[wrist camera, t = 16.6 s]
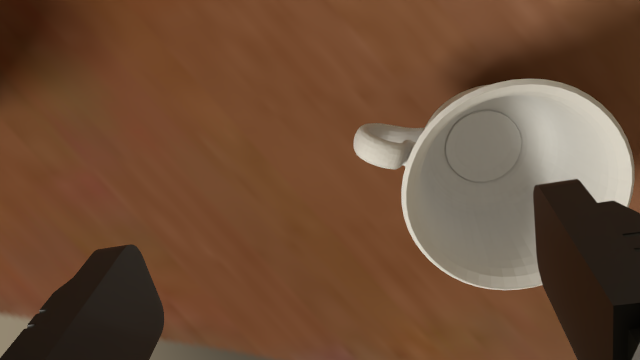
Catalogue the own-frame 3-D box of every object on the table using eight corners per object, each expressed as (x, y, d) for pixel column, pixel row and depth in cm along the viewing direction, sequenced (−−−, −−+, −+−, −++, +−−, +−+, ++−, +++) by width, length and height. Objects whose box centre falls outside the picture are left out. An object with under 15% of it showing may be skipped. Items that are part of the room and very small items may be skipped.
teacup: (380, 19, 36) (388, 34, 27) (597, 79, 37) (679, 115, 27) (332, 185, 41) (324, 248, 31) (527, 237, 41) (577, 315, 32)
